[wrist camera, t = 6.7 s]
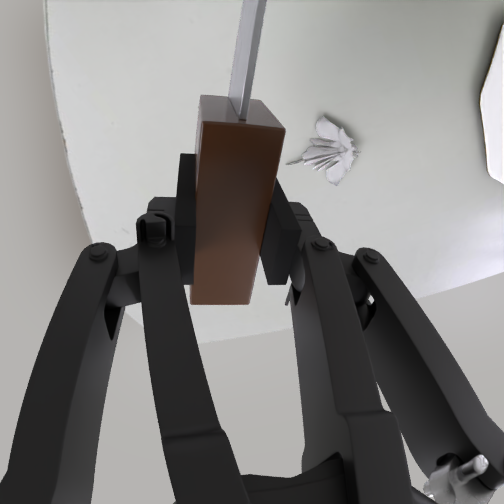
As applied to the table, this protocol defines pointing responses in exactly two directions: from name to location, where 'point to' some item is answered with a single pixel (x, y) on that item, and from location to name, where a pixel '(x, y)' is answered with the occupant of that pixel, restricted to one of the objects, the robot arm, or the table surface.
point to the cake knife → (234, 176)
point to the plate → (494, 111)
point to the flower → (340, 150)
